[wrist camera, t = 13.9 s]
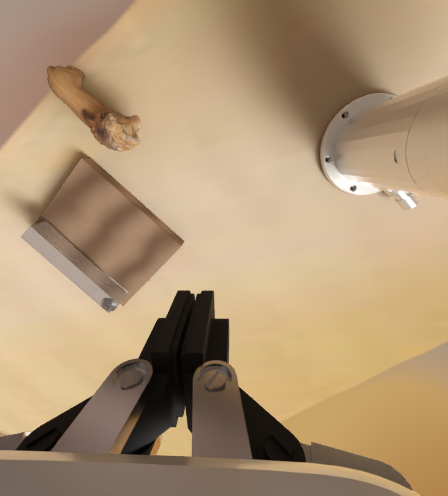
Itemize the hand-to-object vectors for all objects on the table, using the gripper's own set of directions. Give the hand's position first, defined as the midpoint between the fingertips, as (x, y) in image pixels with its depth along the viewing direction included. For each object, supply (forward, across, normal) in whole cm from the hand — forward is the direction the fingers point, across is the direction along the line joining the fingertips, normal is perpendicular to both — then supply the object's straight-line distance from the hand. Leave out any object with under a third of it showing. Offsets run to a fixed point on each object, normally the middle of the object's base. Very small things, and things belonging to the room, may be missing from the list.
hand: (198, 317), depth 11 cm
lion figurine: (+27, +15, -13) cm, 34 cm away
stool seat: (+27, +18, +4) cm, 33 cm away
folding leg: (+24, +22, +8) cm, 34 cm away
